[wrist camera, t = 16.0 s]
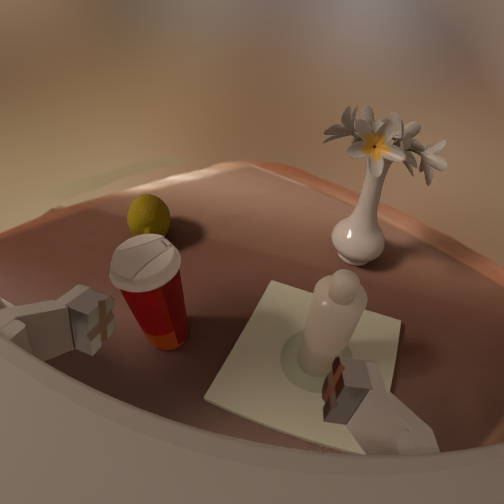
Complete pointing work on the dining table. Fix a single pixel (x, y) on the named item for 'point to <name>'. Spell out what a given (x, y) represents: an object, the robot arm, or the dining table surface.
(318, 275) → the dining table surface
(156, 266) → the paper cup
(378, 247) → the flower vase
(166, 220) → the lemon
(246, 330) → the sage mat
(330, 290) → the cream bottle
